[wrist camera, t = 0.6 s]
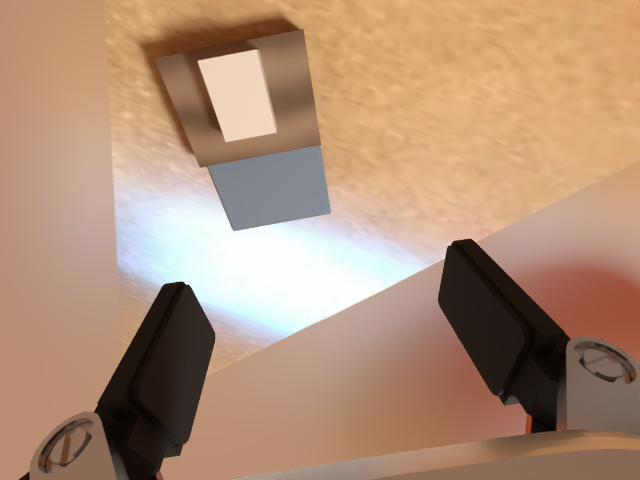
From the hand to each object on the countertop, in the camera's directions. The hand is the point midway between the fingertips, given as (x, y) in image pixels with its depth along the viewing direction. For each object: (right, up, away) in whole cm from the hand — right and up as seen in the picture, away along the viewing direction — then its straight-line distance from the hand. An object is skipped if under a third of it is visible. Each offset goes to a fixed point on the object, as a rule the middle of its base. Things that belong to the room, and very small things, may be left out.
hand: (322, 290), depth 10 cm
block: (-9, +18, +21) cm, 30 cm away
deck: (-9, +19, +24) cm, 32 cm away
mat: (-7, +10, +31) cm, 33 cm away
